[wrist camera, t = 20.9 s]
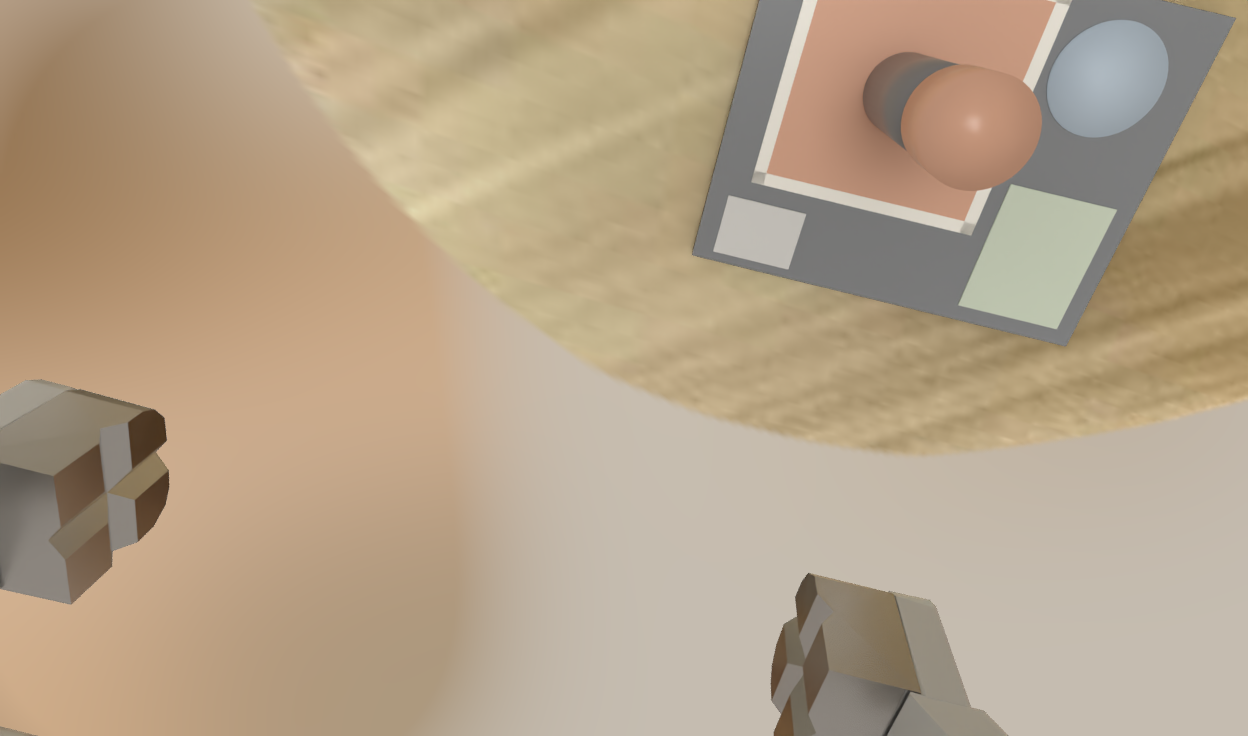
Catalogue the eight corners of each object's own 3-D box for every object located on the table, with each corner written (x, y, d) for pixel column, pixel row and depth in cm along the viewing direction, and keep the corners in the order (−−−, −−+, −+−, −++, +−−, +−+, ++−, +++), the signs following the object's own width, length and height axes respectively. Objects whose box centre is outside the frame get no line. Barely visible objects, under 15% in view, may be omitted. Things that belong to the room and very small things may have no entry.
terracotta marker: (958, 59, 36) (1062, 85, 25) (928, 143, 38) (1013, 201, 27) (876, 41, 36) (944, 59, 25) (849, 126, 38) (903, 177, 27)
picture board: (1225, 17, 35) (1237, 18, 34) (1060, 340, 42) (1066, 347, 41) (782, -89, 35) (783, -91, 34) (692, 250, 42) (692, 256, 41)
